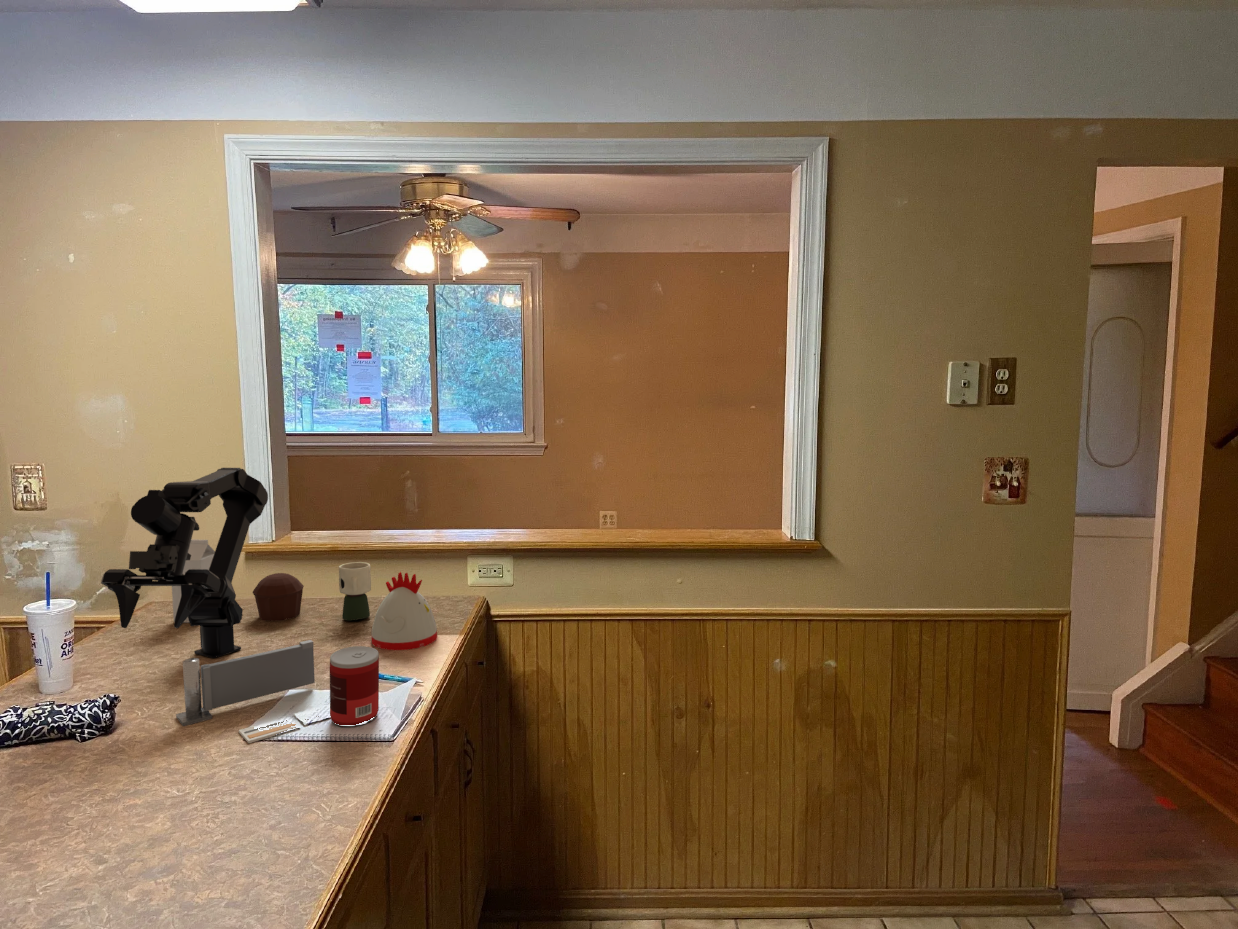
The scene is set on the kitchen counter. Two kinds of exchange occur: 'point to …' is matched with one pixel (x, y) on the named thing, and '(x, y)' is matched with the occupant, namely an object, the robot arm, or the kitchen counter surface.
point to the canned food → (354, 685)
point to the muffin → (278, 597)
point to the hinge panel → (257, 675)
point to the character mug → (355, 589)
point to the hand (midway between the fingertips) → (149, 627)
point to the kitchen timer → (403, 617)
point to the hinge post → (192, 694)
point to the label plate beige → (263, 732)
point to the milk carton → (193, 566)
